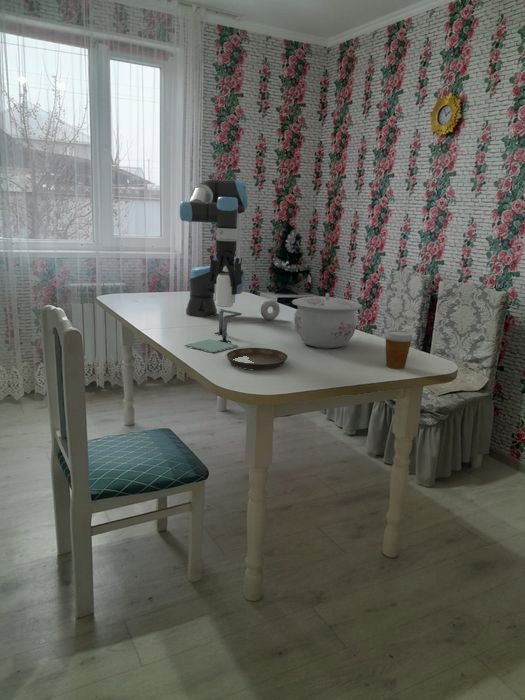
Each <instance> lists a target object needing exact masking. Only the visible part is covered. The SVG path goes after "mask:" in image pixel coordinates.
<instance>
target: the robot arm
mask: <svg viewBox="0 0 525 700" xmlns="http://www.w3.org/2000/svg"><path fill="white" fill-rule="evenodd" d="M248 208H249V196H248V186H247V183H246V182H245V181H243V180H238V179H214V178H213V179H207V180H204V181H203V180H202V181H200V182H199V183H197V184H196V185H195V186H194V187H193V188H192V190H191V193H190V198H189V200H182V201H180V204H179V218H180V221H182V222H188V223H192V222H193V223H195V222H196V223H214V224H216V236H215V237H216V242H215V250H216V254H213V255H212V254H211V255H210V256H209V259H210V265H207V266H206V265H205V266H197V267H193V268H192V269H191V270H190V274H189V275H190V276H189V284H190V285H189V286H190V287H189V300H188V303H187V306H186V308H185V314H186V315H187V316H192V317H213V316H214V315H215V316H217V314H218V309H217V305H216V285H217V276H218V274H219V273H229V277H230V281H231V285H230V287H229V303H230V304H231V303H233V304H236V295H241V294H243V291H244V286H245V281H246V280H245V279H246V272H247V271H246V270H244V266H243V265H242V262H243V258H242V257H241V241H242V239H241V237H242V215H243V214H244V213H246V209H248ZM215 316H214V317H215Z"/></svg>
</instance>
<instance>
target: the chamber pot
mask: <svg viewBox="0 0 525 700" xmlns="http://www.w3.org/2000/svg"><path fill="white" fill-rule="evenodd" d="M291 303H292V304H293V305H294V306H297V310H296V311H295V313H294V316H293V317H294V319H293V321H294V325H295V326H294V328H295V332H296V333H297V335H298V336H299V338H300V340H301V341H302V343H304V344H305V345H307V346H309V347H313V348H317V349H323V350H324V349H325V350H326V349H329V350H330V349H337V348H341V347H344V346H345V345H347V344H348V342H349V341H350V340H351V339H352V337H353V336H354V334H355V331H356V328H357V324H358V315H357V314H356V311H357V310H360V309H361V308H362V307H363V305H362V304H360V303H358V302H357V301H354V300H350V299H346V298H341V297H332V296H330V293H329V292H326V293H325V296H305V297H298V298H295V299H293V300H292V301H291Z"/></svg>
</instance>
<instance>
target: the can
mask: <svg viewBox="0 0 525 700" xmlns="http://www.w3.org/2000/svg"><path fill="white" fill-rule="evenodd" d="M230 285H231V281H230V277H229V273H219V274H218V276H217V285H216V301H215V306H216V307H222V308H228V307H229V308H230V307H233V305H234V303H231V304H230V303H229V287H230Z"/></svg>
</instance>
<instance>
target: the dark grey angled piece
mask: <svg viewBox="0 0 525 700" xmlns="http://www.w3.org/2000/svg"><path fill="white" fill-rule="evenodd" d="M224 313H226V314H227V313H228V314H229V315H224ZM218 314H219V316H218V332H214V335H215V334H218V335H217V336H220V335H222V336H221V337H222V339H220V340H218V341H220V342H225V343H228V342H230V343H232V340H229V339H227V337H228V332H227V331H228V329H227V328H228V319H229V318H234V317H238V316H242V312H237V311H233V310H232V311H231V310H225V309H222V308H221V309H219V313H218Z"/></svg>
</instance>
